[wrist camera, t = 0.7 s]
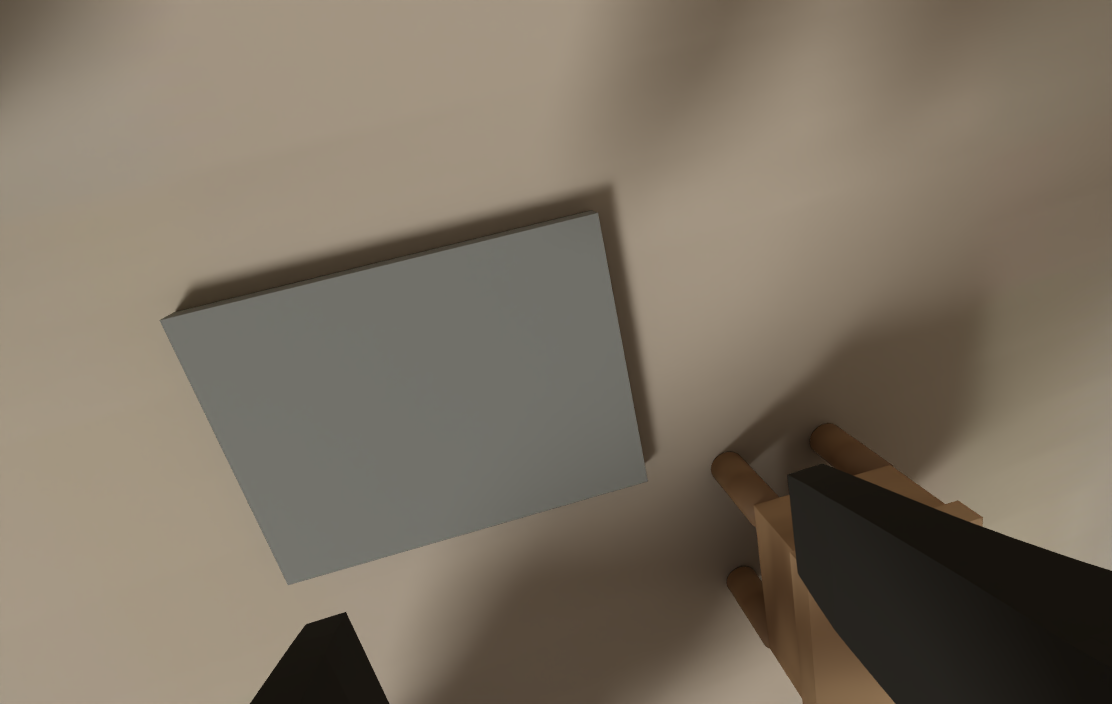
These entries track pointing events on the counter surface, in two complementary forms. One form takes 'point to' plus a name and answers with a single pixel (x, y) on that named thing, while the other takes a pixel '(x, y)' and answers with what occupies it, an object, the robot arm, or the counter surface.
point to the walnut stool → (781, 597)
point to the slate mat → (419, 394)
